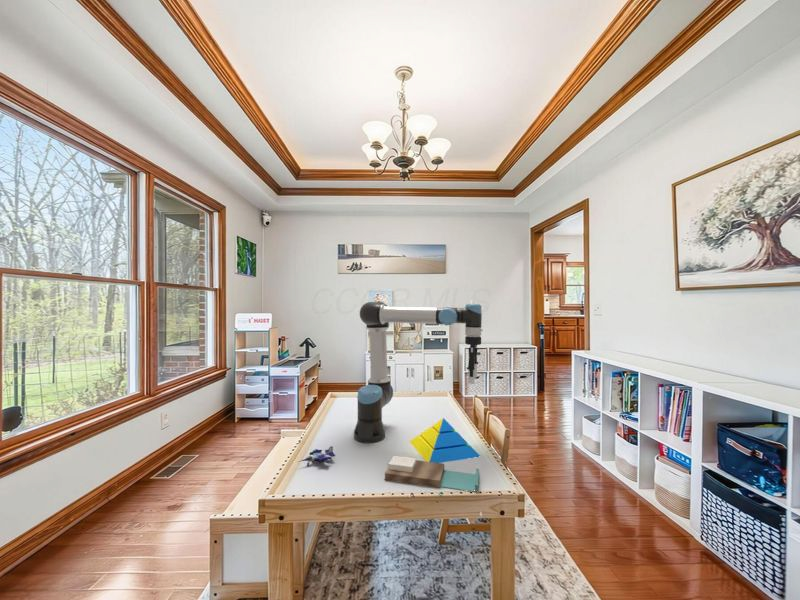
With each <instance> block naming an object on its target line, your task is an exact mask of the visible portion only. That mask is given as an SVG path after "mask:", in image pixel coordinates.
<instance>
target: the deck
mask: <svg viewBox="0 0 800 600" xmlns="http://www.w3.org/2000/svg"><path fill="white" fill-rule="evenodd" d="M444 470H445V463H444V462H442V463H435V462H427V461H425V460H419V459H418V460H417V459H416V465H415V468H414V470H413V472H405V471H397V470H390V469H389V466H388V467H387V469H386V470H385V472H384V481H390V482H398V483H403V484H404V483H405V484H412V485H418V486H419V485H420V486H425V487H433V488H437V489H438V488H439V489H440V488H441V487H440V484H441V480H442V477H443V473H444Z"/></svg>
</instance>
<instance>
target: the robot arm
mask: <svg viewBox="0 0 800 600" xmlns="http://www.w3.org/2000/svg"><path fill="white" fill-rule="evenodd" d="M482 312H483V310H482V305H481V304H480V303H466V304H465V307H448V306H446V307H420V306H417V307H416V306H389V305H388V304H387V303H385V302H382V301H368V302H366V303H364V304H363V305H362V306H361V308H360V310H359V318H360V320H361V321H362V323H364V324H366V329H367V330H368V331H369V356H370V358H369V359H370V377H369V379H368V381H367V385H364V386H361V387H360V388H359V389H358V391H357V396H356V397H357V422H356V425H355V428H354V430H353V438H354V440H355V441H358V442H359V443H360V442H361V443H367V444H368V443H377V442H380V441H382V440H384V439H385V438H386V430H385V429H386V428H385V425H384V422H383V416H382V415H383V408H384V407H385V406H387V405H388V404H389V403H390V402H391V400H392V398H393V396H394V388H393V386H392V385H391V379H390V378H389V376H388V354H387V351H388V350H387V330H389V328H390V323H397V324H399V323H400V324H423V325H424V324H425V325H443V326H444V325H445V326H451V325H454V324H465V326H464V327H465V328H464V330H465V331H464V334H465V338H464V343H465V344H466V345H469V347H468V365H467V366H468V367H466V370H468V378H467V379H468V380H467V381H468V385H469V384H470V385H475V379H476V378H477V379H478V377H477V376H478V365H479V361H478V350H479V349H478V346H479V345H481V344H482V332H483V329H482V318H483V317H482V315H483V313H482Z"/></svg>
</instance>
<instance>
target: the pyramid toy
mask: <svg viewBox="0 0 800 600" xmlns="http://www.w3.org/2000/svg"><path fill="white" fill-rule="evenodd" d="M409 443H410V444H411V445H412V447H413V448H414V449H415V450H416V451H417V452H418V453H419V454H420V457H422V458H423V459H424V460H423V461H427V462H435V463H447V462H448V463H449V462H455V461H461V460H469V459H468V458H470V459H475V458H474V457H477V458H480V457H479V456H481V454H479V453H478V452H477V450H475V449H474V448H473V447H472V445H470V444H469V443H468V442H467V440H465V438H463V436H462V435H461V434H460V433H458V431H457V430H456V429H455V428H454V427H453V425H451V424H450V423H449V422H448V421H447V420H446V419H445V418H444V417H442V418H441V419H440V420H438V421H437V422H435V423H434V424H432V426H429V427H428V428H426V429H425V430H424V431H421V433H420V434H418V435H417V436H415V437H413V438H411V439H410V440H409Z"/></svg>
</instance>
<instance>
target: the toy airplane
mask: <svg viewBox="0 0 800 600" xmlns="http://www.w3.org/2000/svg"><path fill="white" fill-rule="evenodd" d="M333 451H334V447H333V446H332V445H331V446H330V447H329V448H328V449H324V453H323V450H322V449H318V448H317V449H316V448H315V449H313V450H312V451H311V452H309V455H308V456H306V457H305V458H304V459H302V460H299V461H298V463H300V462H306V461H307V463H306V466H307V467H308V466H310V462H312V463H314V462H318V463H330V462H331V460H332V457H333V458H334V457H336V454H335V452H333Z"/></svg>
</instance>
